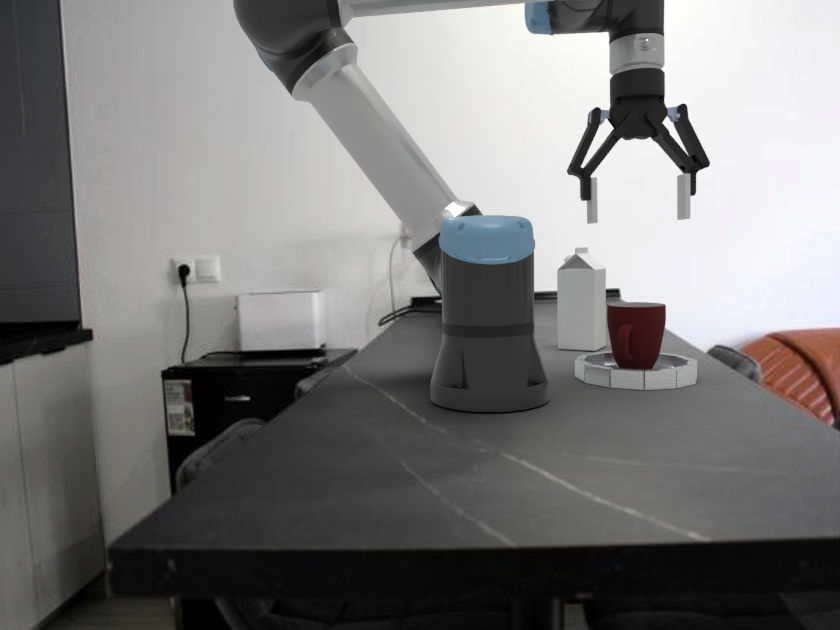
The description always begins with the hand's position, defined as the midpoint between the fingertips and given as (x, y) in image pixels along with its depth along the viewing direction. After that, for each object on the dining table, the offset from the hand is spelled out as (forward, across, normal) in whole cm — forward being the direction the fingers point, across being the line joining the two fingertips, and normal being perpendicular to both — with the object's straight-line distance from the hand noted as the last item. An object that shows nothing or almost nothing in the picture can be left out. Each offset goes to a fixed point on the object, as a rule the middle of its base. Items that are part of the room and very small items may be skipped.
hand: (638, 221), depth 91 cm
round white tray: (+22, -2, -4) cm, 23 cm away
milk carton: (+23, -2, +24) cm, 33 cm away
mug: (+22, -2, -4) cm, 23 cm away
